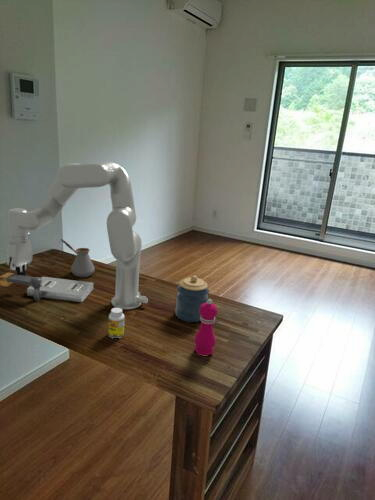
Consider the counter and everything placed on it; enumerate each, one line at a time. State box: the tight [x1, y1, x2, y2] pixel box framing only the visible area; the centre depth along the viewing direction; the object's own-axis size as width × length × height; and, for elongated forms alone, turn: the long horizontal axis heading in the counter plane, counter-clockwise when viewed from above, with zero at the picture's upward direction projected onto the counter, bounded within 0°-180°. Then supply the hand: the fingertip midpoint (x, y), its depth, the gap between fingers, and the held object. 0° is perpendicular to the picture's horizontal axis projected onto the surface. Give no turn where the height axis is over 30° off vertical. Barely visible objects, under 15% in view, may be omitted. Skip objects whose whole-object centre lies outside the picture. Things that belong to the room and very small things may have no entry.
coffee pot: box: [59, 238, 96, 278], centre depth 185 cm, size 21×12×15 cm, turn 58°
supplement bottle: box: [107, 307, 125, 339], centre depth 133 cm, size 6×6×10 cm
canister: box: [174, 275, 210, 323], centre depth 151 cm, size 13×13×18 cm
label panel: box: [26, 276, 94, 303], centre depth 163 cm, size 24×14×3 cm, turn 84°
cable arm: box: [0, 272, 42, 288], centre depth 154 cm, size 17×5×4 cm, turn 78°
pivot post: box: [33, 287, 41, 302], centre depth 154 cm, size 2×2×6 cm
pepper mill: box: [194, 298, 218, 355], centre depth 126 cm, size 7×7×20 cm
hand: (21, 279), depth 160 cm, fingers closed
